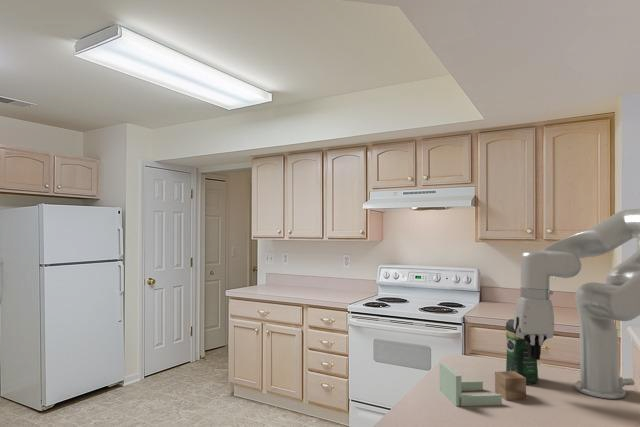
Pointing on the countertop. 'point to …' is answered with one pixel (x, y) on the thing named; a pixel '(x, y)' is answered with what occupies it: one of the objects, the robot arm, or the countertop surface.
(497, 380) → the walnut block
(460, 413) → the countertop surface
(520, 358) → the coffee jar
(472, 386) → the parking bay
